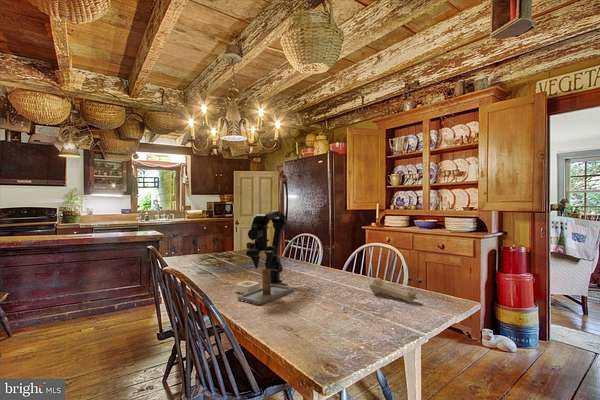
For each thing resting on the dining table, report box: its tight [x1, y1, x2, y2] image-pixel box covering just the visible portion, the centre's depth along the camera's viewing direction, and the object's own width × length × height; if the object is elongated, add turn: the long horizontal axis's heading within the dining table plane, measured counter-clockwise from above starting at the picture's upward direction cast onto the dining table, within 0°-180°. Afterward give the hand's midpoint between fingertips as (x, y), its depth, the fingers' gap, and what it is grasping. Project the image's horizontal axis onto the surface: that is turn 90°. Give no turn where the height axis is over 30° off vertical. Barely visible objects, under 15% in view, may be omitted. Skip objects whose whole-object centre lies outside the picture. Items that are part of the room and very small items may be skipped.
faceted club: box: [369, 277, 418, 304], centre depth 147 cm, size 9×8×25 cm
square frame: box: [234, 280, 261, 294], centre depth 161 cm, size 9×9×4 cm
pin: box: [261, 268, 272, 295], centre depth 154 cm, size 4×4×12 cm
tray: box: [237, 283, 294, 306], centre depth 154 cm, size 26×14×2 cm, turn 145°
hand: (262, 266), depth 164 cm, fingers open, 9 cm apart
